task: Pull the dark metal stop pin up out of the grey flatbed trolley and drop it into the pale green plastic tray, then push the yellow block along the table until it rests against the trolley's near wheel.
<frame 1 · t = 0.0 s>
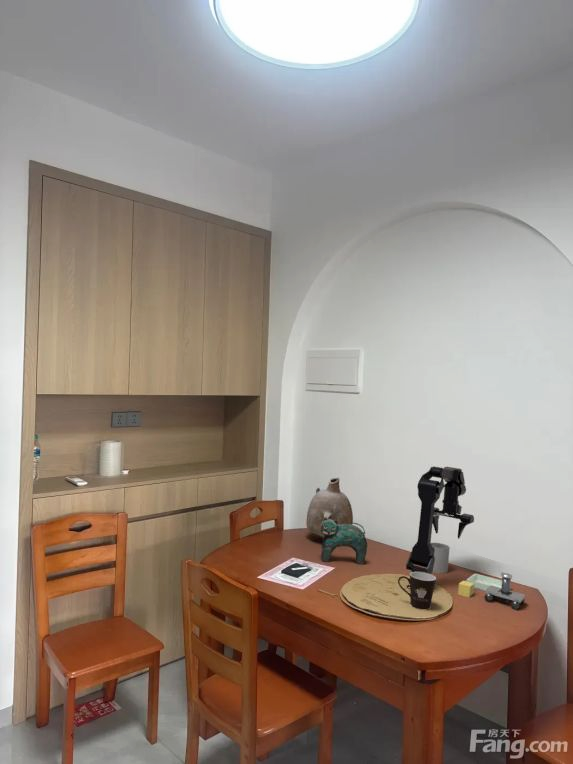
hand: (447, 535, 225), 15 cm above the table, fingers open, 9 cm apart
pin: (505, 588, 196), in the cart
cart: (504, 602, 196), on the table
jug: (327, 541, 256), on the table
ceramic cat: (341, 562, 226), on the table
yellow block: (465, 594, 200), on the table
cup: (437, 570, 227), on the table
tray: (488, 587, 210), on the table
coffee mug: (416, 604, 186), on the table
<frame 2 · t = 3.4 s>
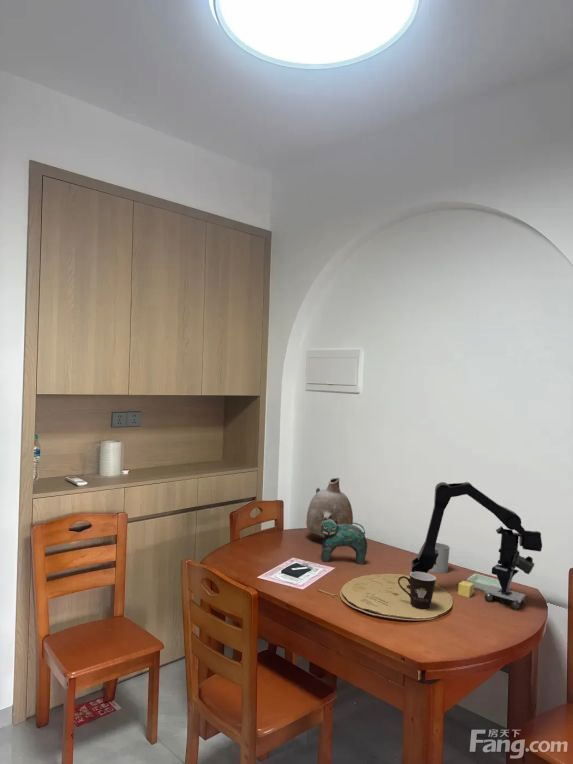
hand: (505, 590, 196), 4 cm above the table, fingers closed on pin, 3 cm apart
pin: (505, 588, 196), in the cart, touching gripper
everything else where it was.
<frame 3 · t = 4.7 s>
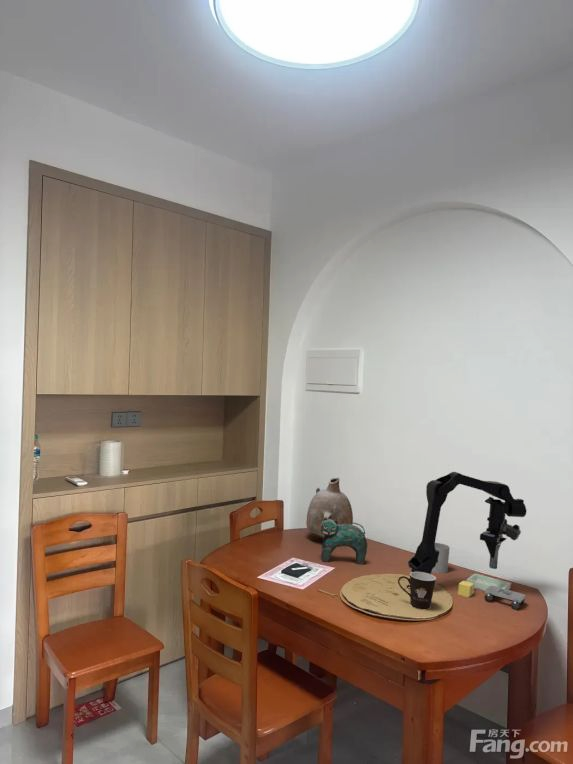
hand: (493, 556, 208), 13 cm above the table, fingers closed on pin, 3 cm apart
pin: (494, 554, 208), point 13 cm above the table, touching gripper
everything else where it was.
when the fingers open (7 cm above the table, at t = 6.1 s): pin drops 2 cm, resting on tray.
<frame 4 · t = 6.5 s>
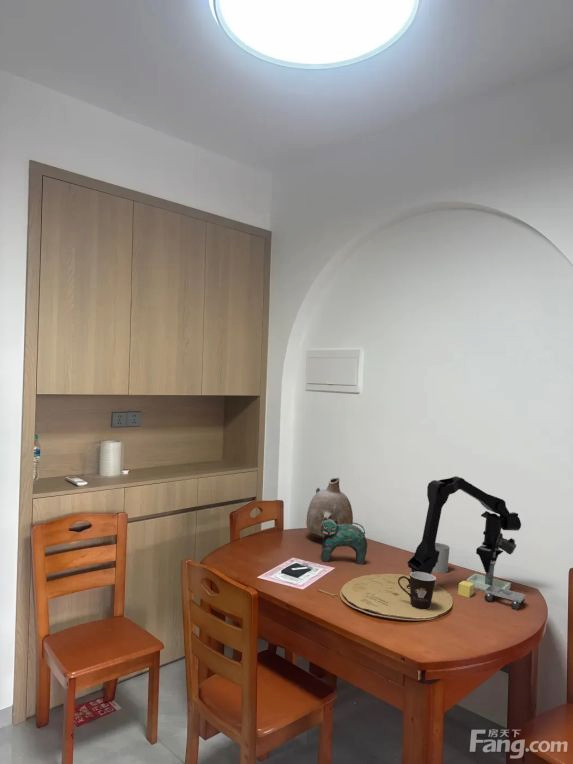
hand: (489, 570, 210), 7 cm above the table, fingers open, 7 cm apart
pin: (489, 573, 210), in the tray, point 6 cm above the table
everything else where it was.
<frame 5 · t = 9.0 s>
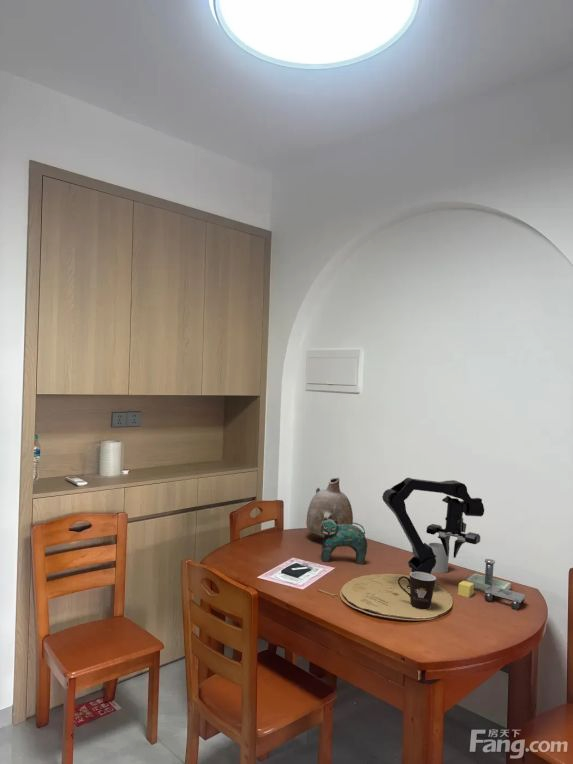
hand: (451, 556, 204), 12 cm above the table, fingers closed
nothing on the table moved.
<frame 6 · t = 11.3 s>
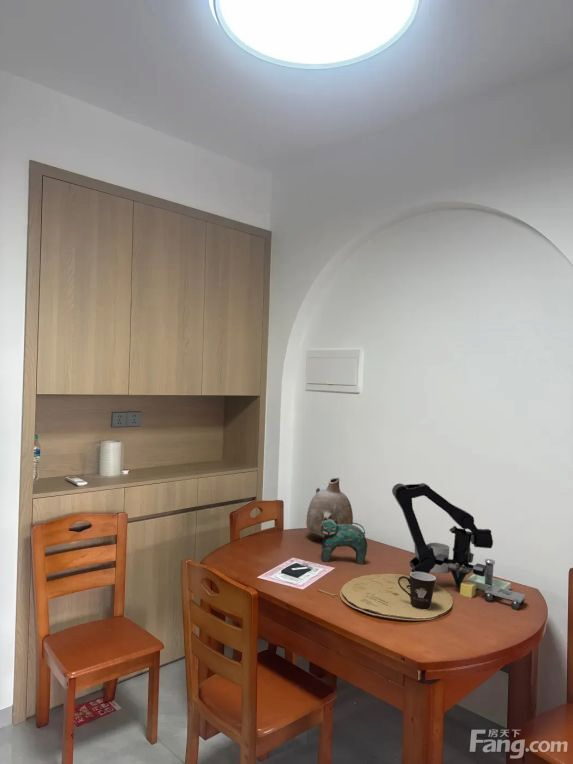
hand: (458, 587, 202), 1 cm above the table, fingers closed
yellow block: (467, 594, 200), on the table, touching gripper
everything else where it was.
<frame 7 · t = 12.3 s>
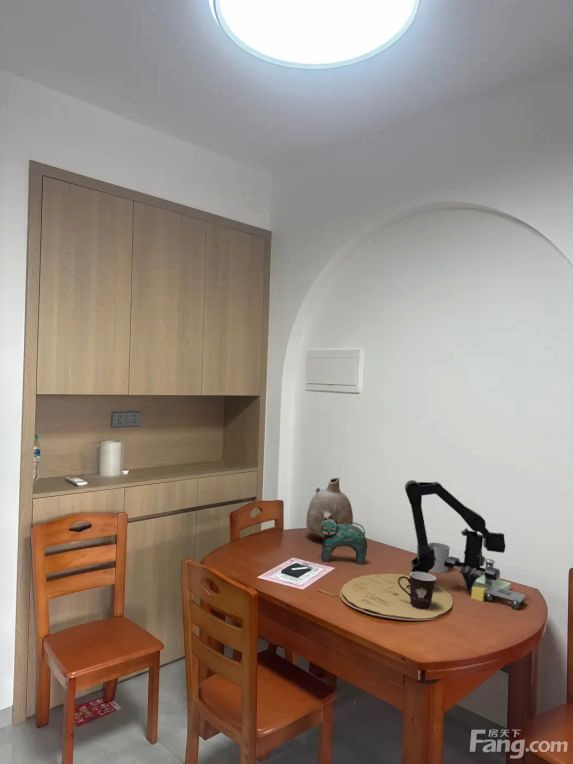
hand: (469, 591, 200), 1 cm above the table, fingers closed
yellow block: (478, 598, 198), on the table, touching cart, gripper
everything else where it was.
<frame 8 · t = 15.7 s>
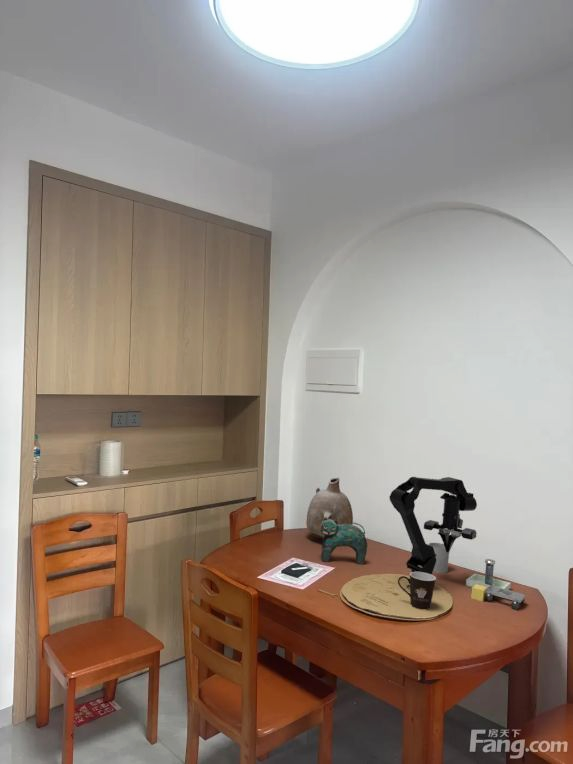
hand: (447, 552, 209), 13 cm above the table, fingers closed
yellow block: (478, 598, 198), on the table
everything else where it was.
at the end: pin inside the target area on the tray (0.0 cm from its centre), point 5.6 cm above the tray's base; yellow block 0.3 cm from the target spot, on the table; the gripper is holding nothing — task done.
